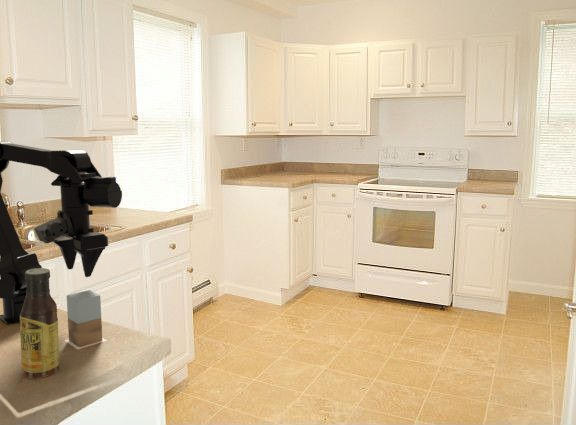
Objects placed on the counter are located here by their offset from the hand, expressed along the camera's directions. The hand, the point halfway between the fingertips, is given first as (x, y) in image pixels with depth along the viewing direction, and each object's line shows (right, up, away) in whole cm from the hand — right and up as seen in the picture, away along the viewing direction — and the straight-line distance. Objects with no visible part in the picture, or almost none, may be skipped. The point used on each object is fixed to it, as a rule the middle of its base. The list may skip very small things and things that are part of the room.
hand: (78, 272), depth 116 cm
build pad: (+5, -14, -8) cm, 17 cm away
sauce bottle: (+3, -16, -22) cm, 28 cm away
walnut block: (+5, -13, -9) cm, 17 cm away
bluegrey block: (+5, -8, -9) cm, 13 cm away
